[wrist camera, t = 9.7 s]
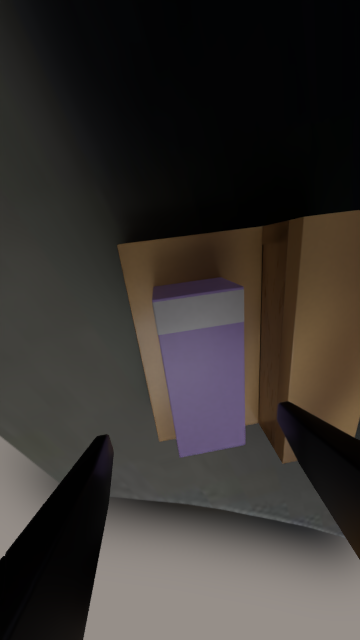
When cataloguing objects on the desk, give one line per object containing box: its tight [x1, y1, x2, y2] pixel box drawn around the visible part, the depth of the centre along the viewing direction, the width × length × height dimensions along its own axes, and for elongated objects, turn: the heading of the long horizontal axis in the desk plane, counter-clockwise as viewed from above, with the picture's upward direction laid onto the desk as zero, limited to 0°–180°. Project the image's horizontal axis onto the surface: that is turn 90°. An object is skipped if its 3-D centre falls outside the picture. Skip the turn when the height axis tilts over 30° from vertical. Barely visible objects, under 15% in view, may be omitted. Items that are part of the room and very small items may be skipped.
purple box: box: [152, 277, 245, 457], centre depth 14 cm, size 5×12×4 cm, turn 7°
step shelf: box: [117, 210, 360, 463], centre depth 16 cm, size 16×18×8 cm
